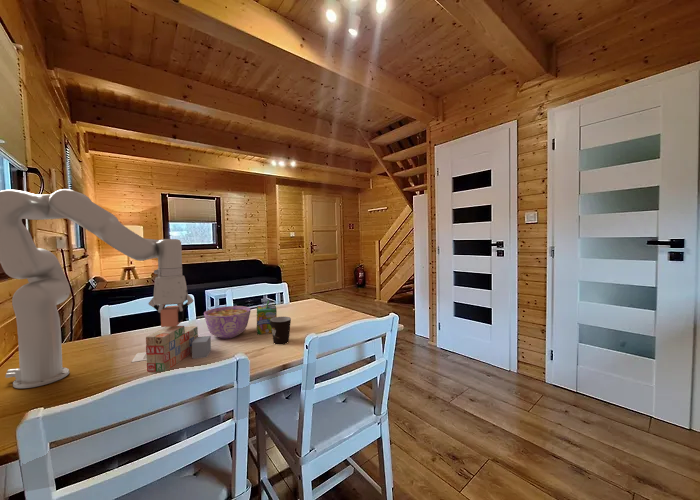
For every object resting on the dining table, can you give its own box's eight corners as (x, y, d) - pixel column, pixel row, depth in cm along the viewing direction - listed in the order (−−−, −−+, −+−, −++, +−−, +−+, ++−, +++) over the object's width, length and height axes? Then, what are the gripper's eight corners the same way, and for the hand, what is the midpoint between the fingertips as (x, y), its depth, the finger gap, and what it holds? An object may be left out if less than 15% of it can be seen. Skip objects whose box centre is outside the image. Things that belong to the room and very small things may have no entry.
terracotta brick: (161, 327, 107) (160, 310, 107) (167, 321, 114) (167, 306, 113) (176, 326, 108) (176, 309, 108) (182, 320, 115) (181, 305, 115)
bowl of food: (231, 345, 126) (230, 318, 126) (193, 340, 133) (193, 314, 132) (260, 331, 145) (259, 307, 145) (226, 327, 152) (225, 304, 151)
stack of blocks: (183, 348, 123) (182, 318, 123) (198, 348, 123) (197, 318, 122) (146, 372, 102) (145, 336, 101) (164, 372, 102) (163, 336, 101)
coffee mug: (293, 344, 127) (292, 320, 127) (272, 346, 124) (271, 322, 124) (288, 335, 138) (287, 314, 138) (268, 338, 135) (268, 316, 134)
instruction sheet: (131, 362, 109) (131, 361, 109) (136, 353, 118) (136, 353, 118) (169, 356, 114) (169, 356, 114) (172, 348, 123) (172, 348, 123)
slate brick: (192, 358, 113) (191, 342, 112) (197, 351, 120) (196, 336, 119) (206, 357, 114) (206, 341, 114) (210, 350, 121) (210, 335, 120)
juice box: (256, 329, 148) (256, 299, 147) (275, 327, 151) (275, 298, 150) (256, 335, 139) (256, 303, 139) (277, 333, 142) (276, 302, 141)
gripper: (139, 274, 104) (141, 326, 105) (193, 273, 109) (194, 323, 109) (148, 272, 112) (149, 321, 112) (198, 270, 116) (199, 317, 117)
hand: (172, 321), depth 111 cm, fingers closed on terracotta brick, 4 cm apart
